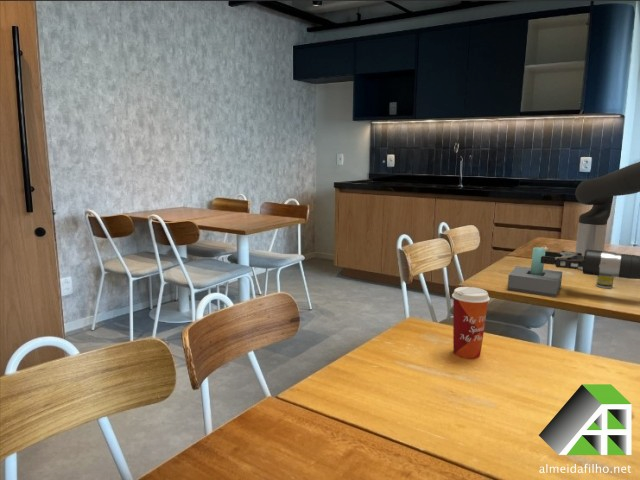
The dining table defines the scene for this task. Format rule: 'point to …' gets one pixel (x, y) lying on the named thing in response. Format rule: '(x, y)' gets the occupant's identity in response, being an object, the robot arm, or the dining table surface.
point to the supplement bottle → (604, 282)
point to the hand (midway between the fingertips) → (542, 257)
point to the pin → (537, 261)
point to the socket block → (535, 282)
